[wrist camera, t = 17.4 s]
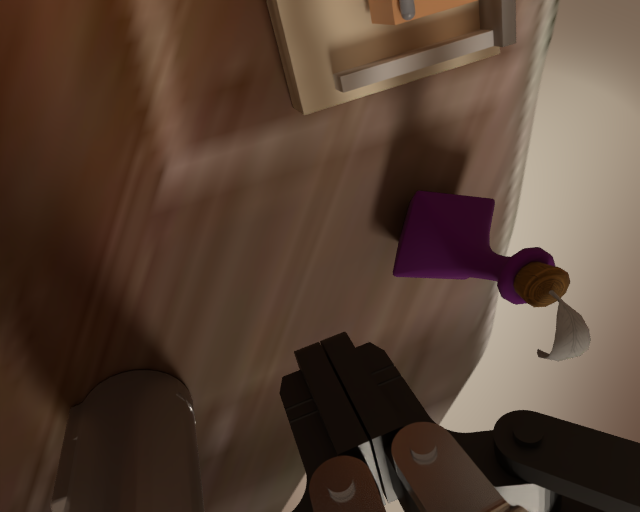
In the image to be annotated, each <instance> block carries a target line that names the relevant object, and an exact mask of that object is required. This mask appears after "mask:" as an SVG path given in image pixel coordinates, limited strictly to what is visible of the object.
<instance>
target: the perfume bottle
mask: <svg viewBox="0 0 640 512" xmlns="http://www.w3.org/2000/svg"><path fill="white" fill-rule="evenodd" d="M494 205H495V201H494V200H493V199H489V198H481V197H472V196H463V195H454V194H445V193H436V192H428V191H417V192H416V193H415V195H414V196H413V198H412V199H411V201H410V204H409V207H408V211H407V214H406V218H405V221H404V225H403V228H402V232H401V235H400V239H399V243H398V248H397V253H396V258H395V264H394V269H393V275H394V276H396V277H415V278H441V279H467V278H469V277H473V278H480V279H487V280H493V281H497V282H498V283H497V286H498V289H499V292H500V294H501V296H502V297H503V298H504V299H506V300H508V301H509V302H511V303H513V304H524V303H528V304H530V305H531V306H533V307H546V306H548V305H550V304H552V303H554V302H556V301H558V302H559V306H558V312H557V323H556V333H555V340H554V344H553V349H552V351H551V353H550V354H548V353H545V352H543V351H541V350H539V349H538V350H537V354H538V357H541V358H545V359H550V360H555V361H562V360H566V359H569V358H574V357H578V356H581V355H582V354H583V353H584V352H586V351H587V350H588V348H589V344H590V334H589V329H588V327H587V325H586V323H585V321H584V320H583V318H582V316H581V315H580V314H579V313H577V312H576V311H575V310H574V309H572V308H571V307H570V306H568V305H567V304H566V303H565V302H564V301H563V300H562V299H561V297H562V296H563V295H564V294H565V293H566V291H567V288H568V286H569V284H570V279H569V275H568V273H567V272H566V271H564V270H563V269H561V268H559V267H555V263H554V260H553V257H552V256H551V255H550V254H549V253H548V252H546V251H544V250H543V249H541V248H539V247H535V248H525V249H522V250H521V251H519V252H518V253H516V254H515V255H513V256H512V257H505V256H502V255H498V254H496V253H494V252H493V251H492V250H491V248H490V246H489V234H490V227H491V222H492V216H493V211H494Z"/></svg>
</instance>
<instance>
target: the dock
mask: <svg viewBox="0 0 640 512" xmlns="http://www.w3.org/2000/svg"><path fill="white" fill-rule="evenodd" d="M266 2H267V6H268V10H269V14H270V18H271V22H272V26H273V30H274V34H275V38H276V42H277V45H278V49H279V53H280V57H281V61H282V65H283V69H284V73H285V77H286V81H287V85H288V89H289V93H290V97H291V101H292V105H293V108H295V109H296V110H298V111H299V112H300V113H302V114H303V115H306V114H310V113H313V112H316V111H319V110H322V109H326V108H329V107H332V106H335V105H338V104H341V103H345V102H348V101H351V100H354V99H357V98H361V97H364V96H367V95H370V94H373V93H376V92H380V91H383V90H386V89H389V88H392V87H396V86H399V85H402V84H405V83H408V82H412V81H415V80H418V79H421V78H424V77H427V76H431V75H434V74H437V73H440V72H443V71H447V70H450V69H453V68H456V67H459V66H463V65H466V64H469V63H472V62H475V61H478V60H482V59H485V58H488V57H491V56H494V55H498V54H500V47H505V46H508V45H511V44H515V43H516V3H515V0H477V1H474V2H471V3H467V4H464V5H461V6H458V7H454V8H451V9H448V10H444V11H441V12H438V13H434V14H431V15H428V16H424V17H421V18H418V19H414V20H411V21H408V22H404V23H401V24H398V25H385V24H372V21H371V14H370V8H369V2H368V0H266Z"/></svg>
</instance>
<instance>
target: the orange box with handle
mask: <svg viewBox="0 0 640 512" xmlns="http://www.w3.org/2000/svg"><path fill="white" fill-rule="evenodd" d="M474 1H477V0H368V2H369V8H370V14H371V21H372V24H385V25H398V24H401V23H404V22H408V21H411V20H414V19H418V18H421V17H424V16H428V15H431V14H434V13H438V12H441V11H444V10H448V9H451V8H454V7H458V6H461V5H464V4H467V3H471V2H474Z"/></svg>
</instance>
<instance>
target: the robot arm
mask: <svg viewBox="0 0 640 512" xmlns="http://www.w3.org/2000/svg"><path fill="white" fill-rule="evenodd" d="M320 343H321V345H320ZM320 343H319V342H317V343H315V344H312V345H309V346H307V347H304V348H302V349H299V350H297V351H294V354H295V357H296V360H297V363H298V366H299V369H300V370H299V371H296V372H294V373H291V374H289V375H286V376H284V377H282V383H281V388H280V396H281V399H282V402H283V405H284V408H285V411H286V414H287V417H288V420H289V423H290V426H291V429H292V432H293V435H294V438H295V441H296V444H297V447H298V450H299V453H300V456H301V459H302V462H303V465H304V467H305V471H306V475H307V484H306V490H305V493H304V495H303V498H302V499H301V501H300V503H299V504H298V505H297V507H296V508H295V509H294V510H293V511H292V512H386V510H385V507H384V505H386V503H385V499H384V496H383V493H384V495H385V497H386V499H387V501H388V503H390V502H392V501H395V500H397V499H398V500H399V502H400V504H401V506H402V508H403V510H404V512H640V443H638V442H634V441H631V440H628V439H624V438H621V437H617V436H614V435H611V434H608V433H604V432H601V431H597V430H594V429H591V428H588V427H584V426H581V425H578V424H574V423H571V422H568V421H564V420H561V419H557V418H554V417H551V416H548V415H544V414H540V413H538V412H533V411H528V410H518V411H512V412H509V413H507V414H505V415H503V416H502V417H501V418H500V419H499V420H498V421H497V422H496V424H495V426H494V430H490V431H481V432H473V433H458V432H453V431H450V430H447V429H444V428H443V427H441V426H439V425H438V424H436V423H435V422H434V421H433V420H432V419H431V418H430V417H429V415H428V414H427V412H426V411H425V409H424V408H423V406H422V405H421V404H420V402H419V401H418V399H417V398H416V396H415V395H414V393H413V392H412V390H411V389H410V387H409V386H408V385H407V383H406V382H405V380H404V379H403V377H401V374H400V373H399V371H398V370H397V368H396V367H394V364H393V363H392V361H391V360H390V358H389V357H388V355H387V354H386V352H385V351H384V350H382V349H381V348H379V347H377V346H376V345H374V344H372V343H370V342H369V343H366V344H364V345H361V346H359V347H356V348H355V346H354V345H353V343H352V341H351V340H350V338H349V336H348V335H347V333H346V332H342V333H340V334H337V335H335V336H332V337H329V338H327V339H324V340H322V341H320ZM382 491H383V492H382ZM51 510H52V512H204V503H203V493H202V484H201V475H200V466H199V456H198V447H197V438H196V429H195V414H194V410H193V401H192V398H191V395H190V392H189V391H188V389H187V388H186V386H185V385H184V384H183V383H181V382H180V381H179V380H178V379H176V378H174V377H172V376H171V375H169V374H165V373H162V372H159V371H151V370H134V371H129V372H124V373H120V374H118V375H115V376H112V377H110V378H108V379H106V380H105V381H103V382H101V383H100V384H98V385H97V386H96V387H95V388H94V389H93V390H92V391H91V392H90V393H89V394H88V396H87V397H86V399H85V400H84V401H83V402H82V403H81V404H79V405H77V406H74V407H72V408H70V411H69V416H68V421H67V426H66V431H65V436H64V441H63V446H62V451H61V456H60V461H59V466H58V471H57V476H56V481H55V486H54V491H53V496H52V501H51Z"/></svg>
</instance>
